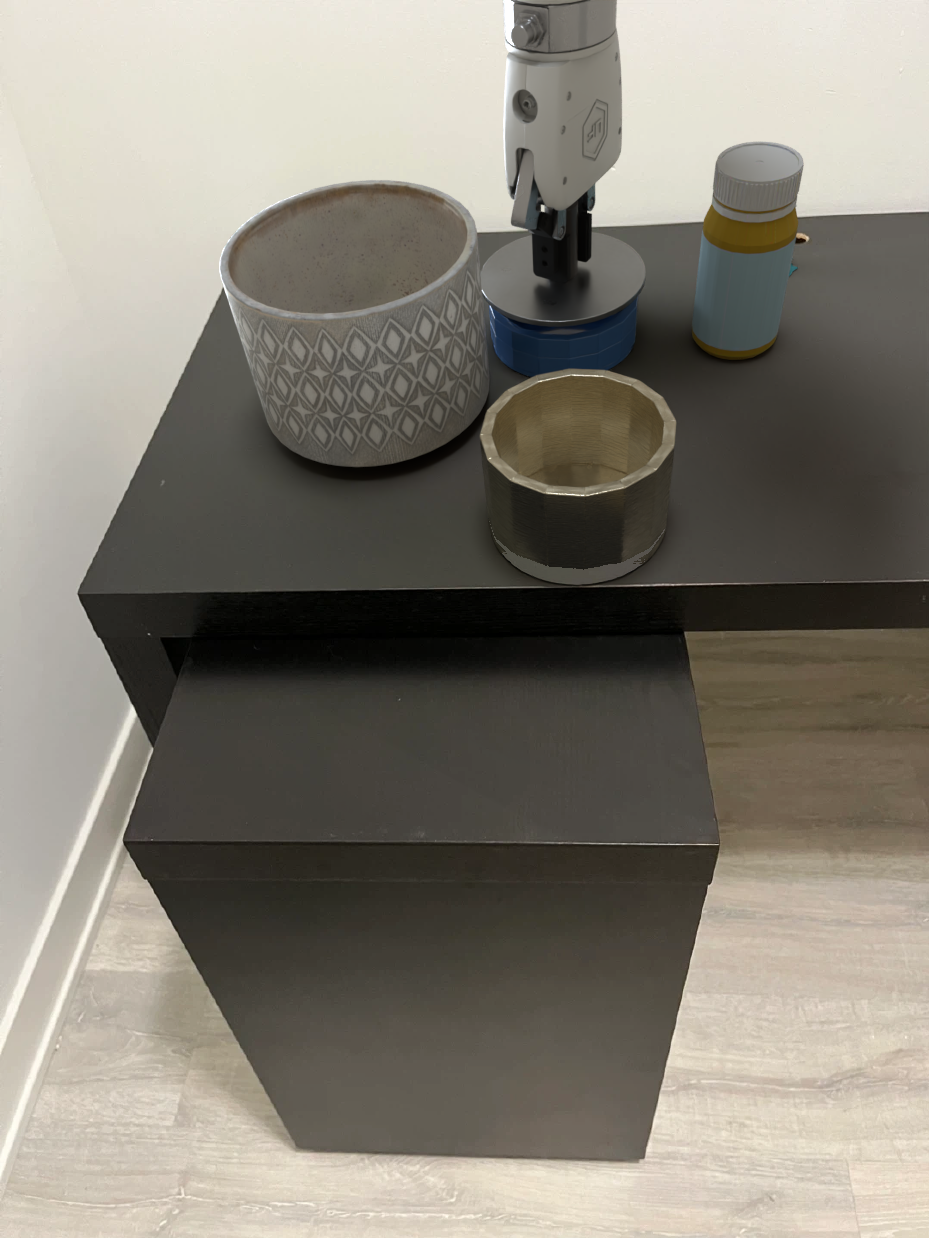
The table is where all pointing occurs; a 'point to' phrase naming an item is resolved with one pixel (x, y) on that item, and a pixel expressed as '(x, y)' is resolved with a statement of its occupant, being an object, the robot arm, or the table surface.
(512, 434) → the pot
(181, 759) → the table surface
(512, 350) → the pan
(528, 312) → the lid
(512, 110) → the robot arm
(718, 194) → the bottle
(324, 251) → the planter
